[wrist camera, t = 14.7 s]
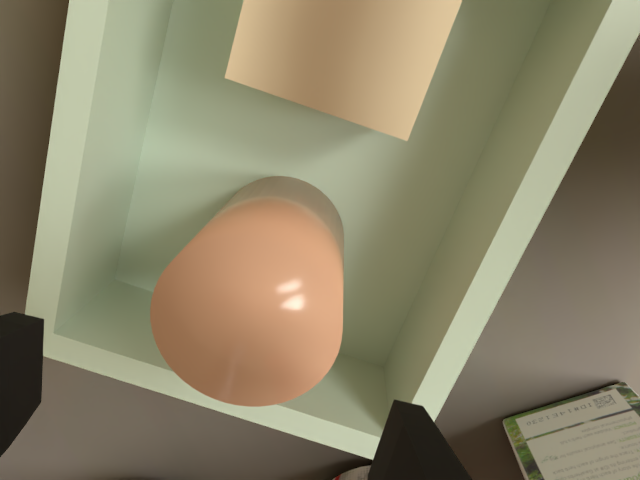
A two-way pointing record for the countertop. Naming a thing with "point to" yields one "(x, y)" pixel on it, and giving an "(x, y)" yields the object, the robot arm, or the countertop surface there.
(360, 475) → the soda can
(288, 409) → the sage tote
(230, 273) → the terracotta cylinder
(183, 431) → the countertop surface
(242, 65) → the maple cube
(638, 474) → the syrup box
